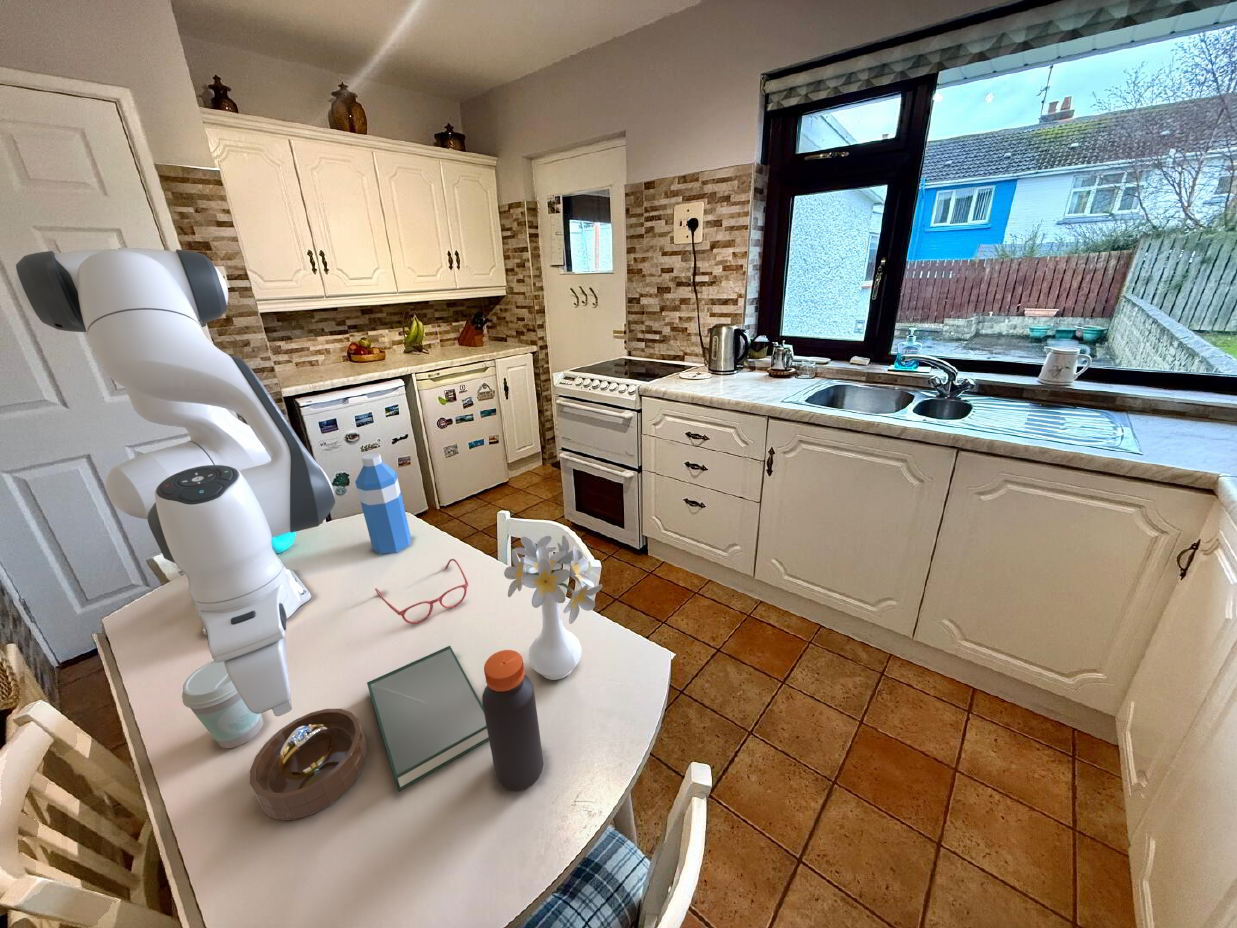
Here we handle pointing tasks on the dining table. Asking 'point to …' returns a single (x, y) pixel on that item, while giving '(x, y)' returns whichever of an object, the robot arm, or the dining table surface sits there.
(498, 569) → the dining table surface
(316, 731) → the ring
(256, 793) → the bowl
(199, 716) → the coffee cup
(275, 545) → the cyan rounded piece
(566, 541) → the flower vase
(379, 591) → the red eyeglasses
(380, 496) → the water bottle
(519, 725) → the vinegar
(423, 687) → the book
